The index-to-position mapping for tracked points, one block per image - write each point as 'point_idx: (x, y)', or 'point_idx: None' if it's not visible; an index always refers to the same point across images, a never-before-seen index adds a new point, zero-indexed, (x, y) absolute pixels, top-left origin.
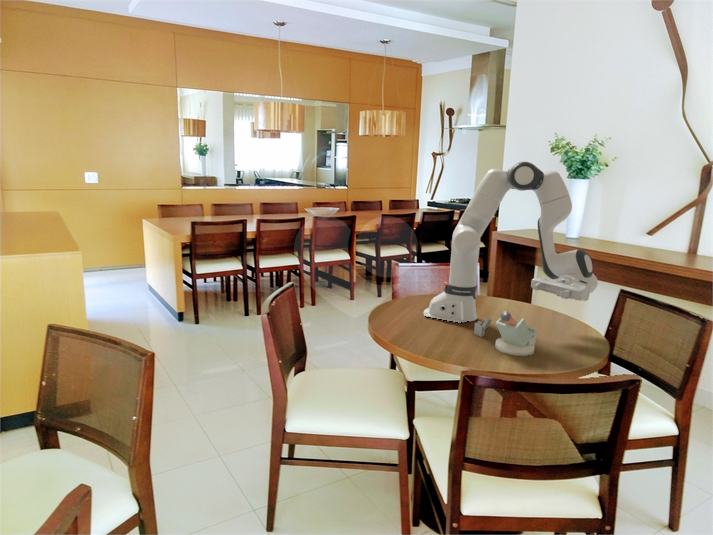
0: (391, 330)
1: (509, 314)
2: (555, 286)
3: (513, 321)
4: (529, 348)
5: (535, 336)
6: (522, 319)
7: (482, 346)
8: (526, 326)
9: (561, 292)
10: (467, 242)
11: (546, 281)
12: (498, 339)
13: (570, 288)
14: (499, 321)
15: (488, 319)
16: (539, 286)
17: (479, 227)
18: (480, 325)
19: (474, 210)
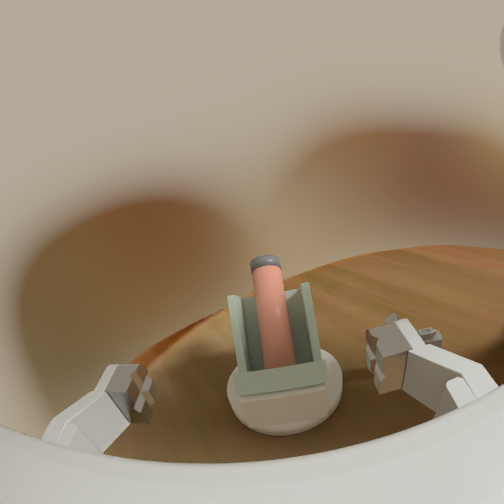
0: (450, 256)
1: (252, 261)
2: (217, 467)
3: (254, 292)
4: (234, 387)
5: (243, 410)
6: (231, 295)
7: (337, 340)
8: (232, 330)
9: (108, 373)
10: (501, 57)
11: (482, 472)
12: (332, 361)
13: (28, 443)
14: (299, 290)
15: (388, 317)
16: (381, 363)
17: None
18: None
19: None
